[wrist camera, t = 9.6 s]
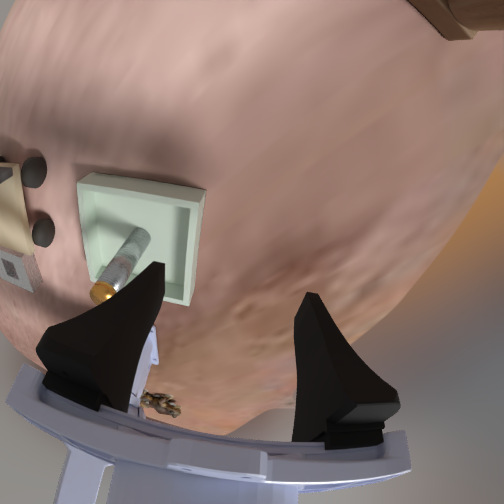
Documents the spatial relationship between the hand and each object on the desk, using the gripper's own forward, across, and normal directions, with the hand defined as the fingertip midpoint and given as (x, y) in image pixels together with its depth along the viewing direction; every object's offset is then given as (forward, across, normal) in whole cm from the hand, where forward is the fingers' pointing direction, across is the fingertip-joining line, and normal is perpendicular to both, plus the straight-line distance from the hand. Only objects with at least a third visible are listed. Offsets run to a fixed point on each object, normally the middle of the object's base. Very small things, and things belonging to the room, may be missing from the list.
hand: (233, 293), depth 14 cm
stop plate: (+10, +30, +14) cm, 35 cm away
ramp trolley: (+10, +25, +3) cm, 27 cm away
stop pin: (+10, +9, +5) cm, 14 cm away
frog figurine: (+11, +9, +44) cm, 46 cm away
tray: (+10, +9, +5) cm, 15 cm away
